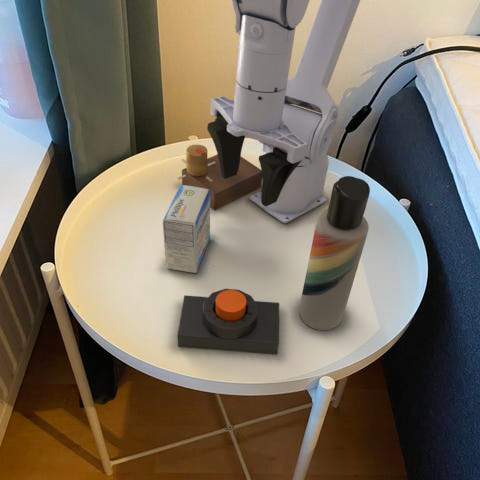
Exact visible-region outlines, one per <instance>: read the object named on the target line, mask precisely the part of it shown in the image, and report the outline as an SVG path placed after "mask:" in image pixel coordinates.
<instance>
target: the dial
mask: <svg viewBox="0 0 480 480" xmlns="http://www.w3.org/2000/svg"><path fill="white" fill-rule="evenodd" d="M185 153H186V155H185V158H186V160H185V161H186V162H187V164H186V168H187V172H188V174H190V175H192V176H202V175H205V174H206V173H207V159H208V148H207V147H206V146H205V145H202V144H191V145H189V146H187V147H186V150H185Z"/></svg>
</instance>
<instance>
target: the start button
mask: <svg viewBox="0 0 480 480" xmlns="http://www.w3.org/2000/svg"><path fill="white" fill-rule="evenodd" d="M215 311H216V314H217V316H218V317H219V318H220V319H222V320H224V321H230V322H234V321H238V320H240V319H241V318H242V317H243V316H244V315H245V311H246V298H245V296H244V295H243V294H242V293H240V292H238V291H235V290H226V291H223V292H221V293H219V294H218V296H217V297H216V309H215Z"/></svg>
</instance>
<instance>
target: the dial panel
mask: <svg viewBox="0 0 480 480" xmlns="http://www.w3.org/2000/svg"><path fill="white" fill-rule="evenodd" d="M181 161H182V162H183V163H184V164H185V165H187V162H186V160H185V159H184V158H183V159H181ZM177 180H181V185H186V186H194V187H199V188H204V189H208V190H210V209H212V210H213V211H215V210H217V209H220V208H221V207H224V206H225V205H228V204H230V203H232V202H234V201H237V200H239V199H240V198H242V197H244V196H246V195H248V194H250V193H252V192H254V191H256V190H259V189H260V188H262V183H263V181H262V170H261V168H259V166H258V167H257V166H256V165H255V164H253V163H251V162H250V161H249V160H247V159H246V158H244V157H243V156H241V157H240V164H239V169H238V172H237V175H235V176H232V177H229V178H227V179H225V178H223V177H222V173H221V168H220V163H219V158H218V154H215V155H212V156H210V157H207V173H206V174H205V175H202V176H192V175H190V174H188V172H187V167H185V168H183V169H181V175H180V176H178V177H177Z"/></svg>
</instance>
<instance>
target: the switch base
mask: <svg viewBox="0 0 480 480" xmlns="http://www.w3.org/2000/svg"><path fill="white" fill-rule="evenodd" d="M226 290H235V291H238V292H240V293H242V294H243V295H244V296H245V298H246V311H245V315H244V316H243V317H242V318H241V319H240V320H238V321H234V322H230V321H224V320H222V319H220V318H219V317H218V316H217V314H216V311H215V309H216V297H217V296H218V294H219V293H221V292H223V291H226ZM180 311H181V312H180V317H179V324H178V329H177V333H176V334H177V347H179V348H190V349H191V348H192V349H193V348H194V349H203V350H204V349H205V350H217V351H228V352H229V351H230V352H243V353H253V354H254V353H255V354H268V355H277V354H278V350H279V345H280V303H279V302H273V301H262V300H260V301H259V300H255V299H254V298H253V296H252V295H250V294H248V293H247V292H245V291H243V290H241V289H236V288H222V289H220V290H217V291H214V292H211V294H210V295H208V296H199V295H184V296H183V299H182V306H181V310H180Z"/></svg>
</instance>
